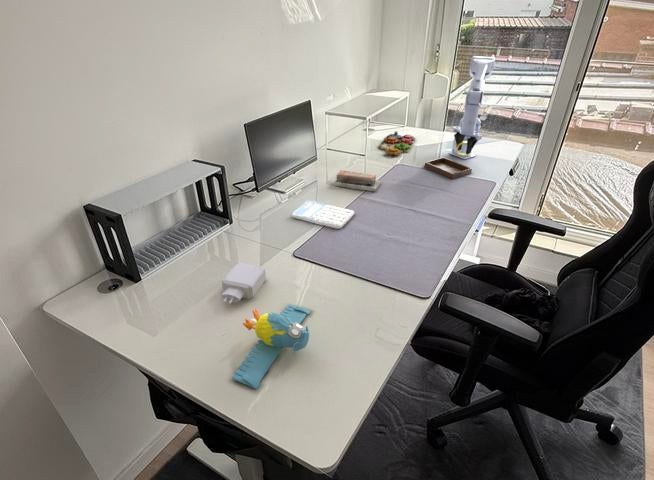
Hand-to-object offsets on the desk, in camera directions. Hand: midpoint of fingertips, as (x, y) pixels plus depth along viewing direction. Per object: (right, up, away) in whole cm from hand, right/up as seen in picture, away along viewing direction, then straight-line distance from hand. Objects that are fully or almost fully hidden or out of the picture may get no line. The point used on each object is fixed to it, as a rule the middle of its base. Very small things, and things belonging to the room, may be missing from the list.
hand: (463, 151), depth 187 cm
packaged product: (-48, -17, -8) cm, 52 cm away
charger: (-87, -60, -69) cm, 126 cm away
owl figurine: (-74, -71, -85) cm, 134 cm away
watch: (0, -1, +1) cm, 2 cm away
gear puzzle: (-25, +11, +32) cm, 42 cm away
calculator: (-63, -33, -31) cm, 78 cm away
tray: (-5, -7, +6) cm, 10 cm away
